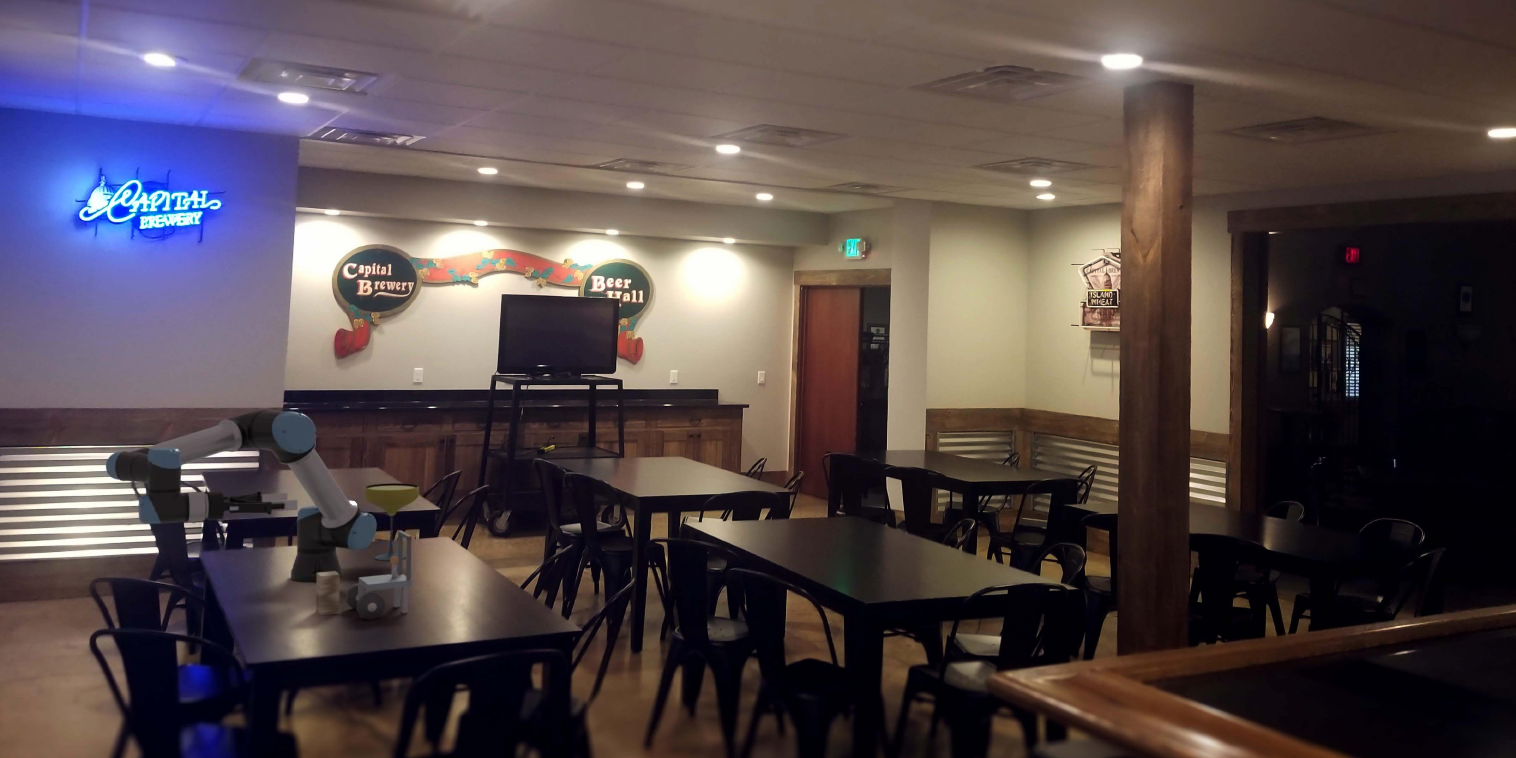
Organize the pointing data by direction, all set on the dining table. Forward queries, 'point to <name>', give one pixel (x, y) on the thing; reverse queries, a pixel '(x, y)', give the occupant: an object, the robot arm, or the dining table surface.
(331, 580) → the block
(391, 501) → the cocktail glass
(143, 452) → the robot arm
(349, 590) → the trolley
